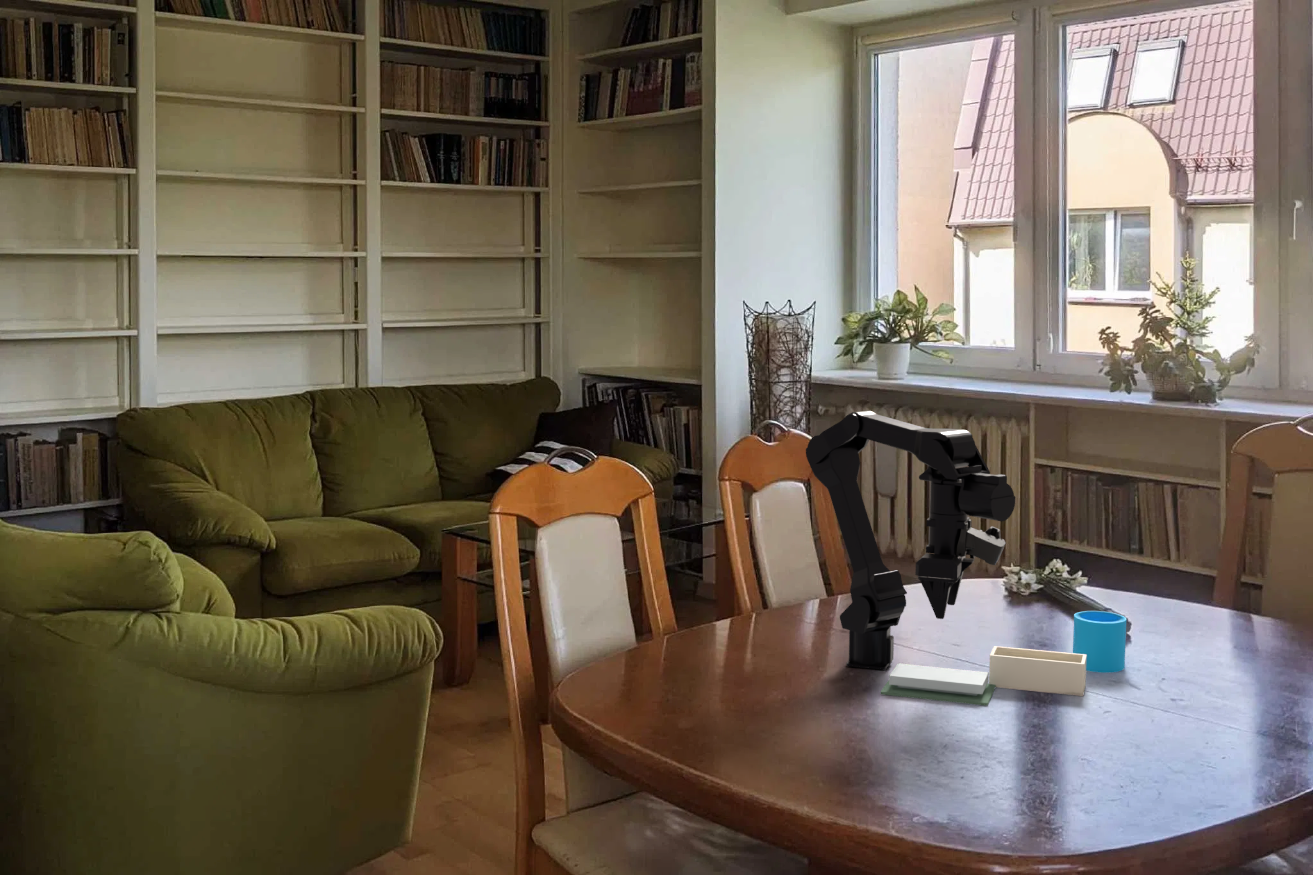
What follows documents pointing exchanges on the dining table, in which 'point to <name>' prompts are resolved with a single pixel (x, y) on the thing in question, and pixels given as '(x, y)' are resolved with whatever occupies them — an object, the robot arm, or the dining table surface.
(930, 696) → the felt mat
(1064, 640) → the dining table surface
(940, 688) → the lid
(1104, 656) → the mug
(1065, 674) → the pencil box
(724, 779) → the dining table surface
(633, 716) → the dining table surface
